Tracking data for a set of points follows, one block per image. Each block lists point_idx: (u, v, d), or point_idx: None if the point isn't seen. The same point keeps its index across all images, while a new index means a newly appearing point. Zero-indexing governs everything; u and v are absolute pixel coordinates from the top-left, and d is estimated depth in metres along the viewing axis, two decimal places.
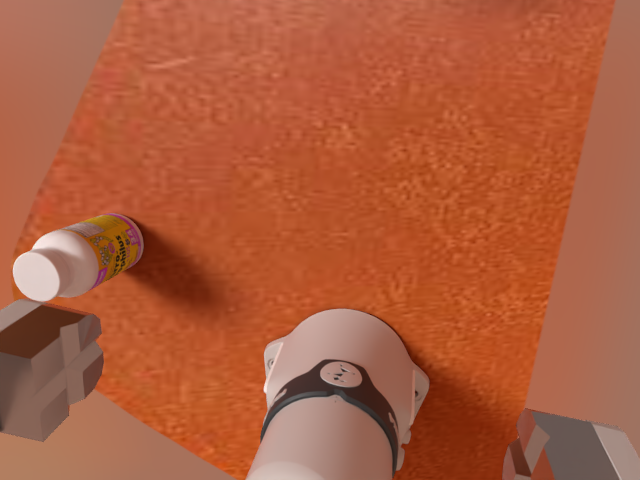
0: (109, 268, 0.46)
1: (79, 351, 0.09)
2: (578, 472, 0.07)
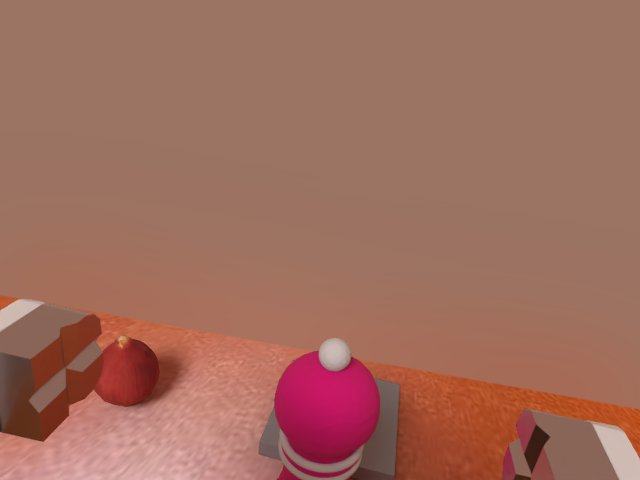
0: None
1: (79, 351, 0.09)
2: (578, 472, 0.06)
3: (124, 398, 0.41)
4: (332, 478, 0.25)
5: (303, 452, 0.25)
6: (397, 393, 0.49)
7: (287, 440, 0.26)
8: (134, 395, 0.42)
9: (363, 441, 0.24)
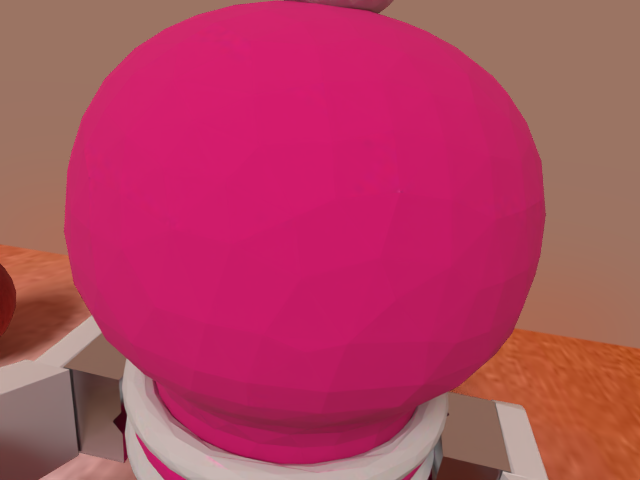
0: None
1: None
2: (468, 447, 0.07)
3: None
4: None
5: (194, 413, 0.06)
6: None
7: None
8: None
9: (492, 344, 0.05)
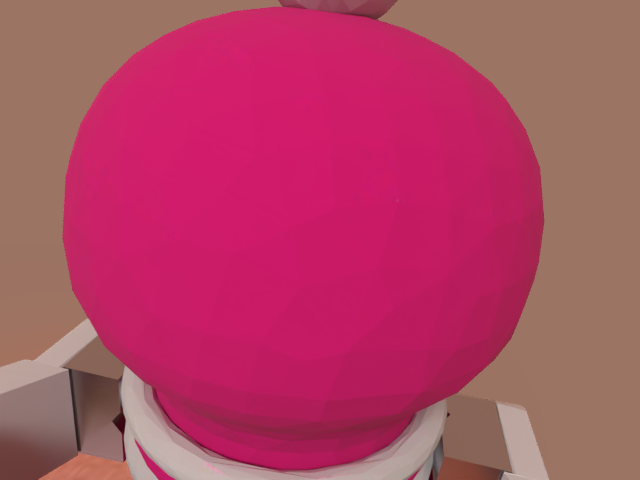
0: None
1: None
2: (469, 447, 0.07)
3: None
4: None
5: (193, 420, 0.06)
6: None
7: None
8: None
9: (491, 351, 0.05)
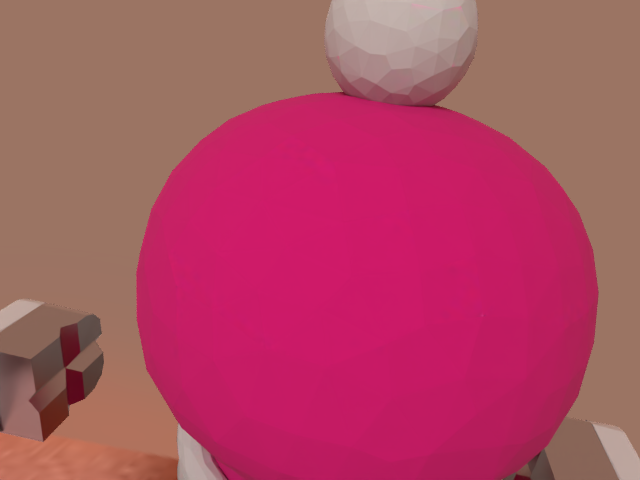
0: None
1: (79, 351, 0.09)
2: (578, 472, 0.07)
3: None
4: None
5: None
6: None
7: None
8: None
9: (552, 433, 0.05)
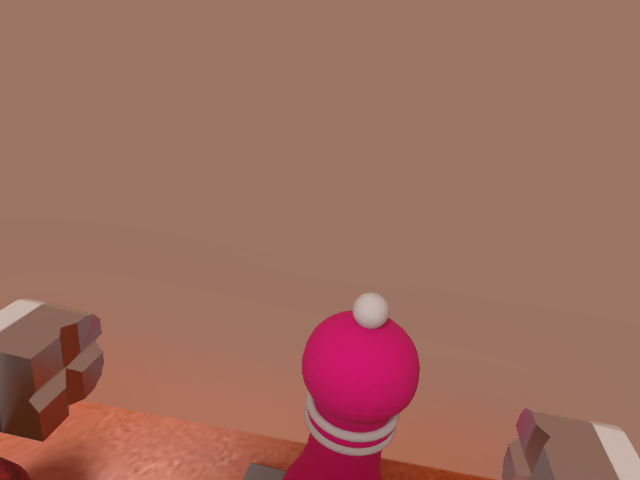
0: None
1: (79, 351, 0.09)
2: (578, 472, 0.07)
3: None
4: (367, 449, 0.23)
5: (334, 420, 0.23)
6: None
7: (316, 408, 0.24)
8: None
9: (403, 405, 0.22)
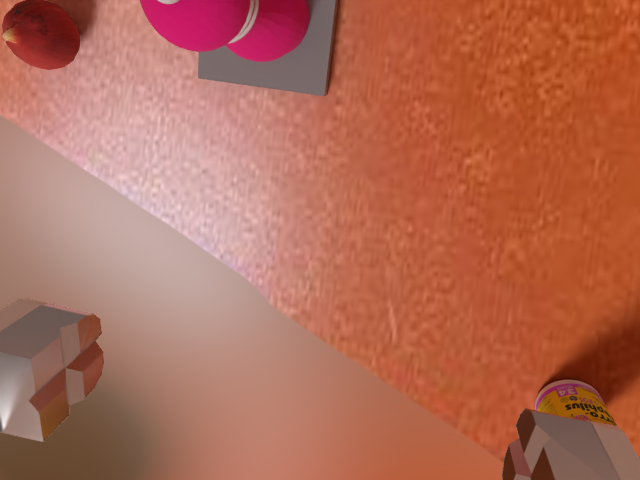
0: None
1: (79, 351, 0.09)
2: (578, 472, 0.07)
3: (63, 66, 0.43)
4: (233, 39, 0.29)
5: None
6: None
7: None
8: (68, 62, 0.43)
9: (237, 34, 0.26)
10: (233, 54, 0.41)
